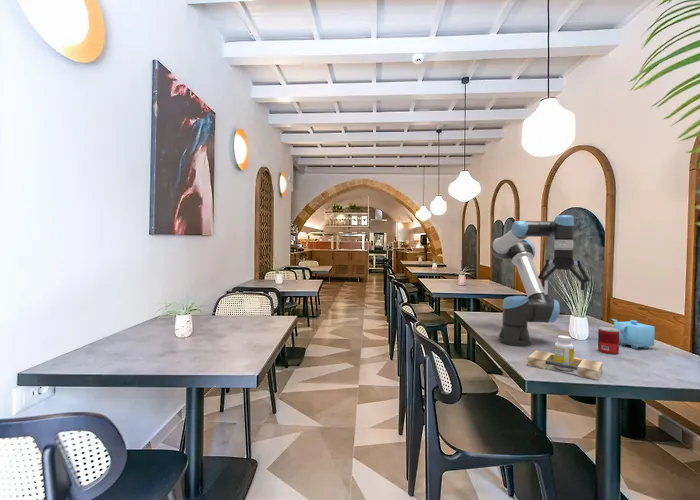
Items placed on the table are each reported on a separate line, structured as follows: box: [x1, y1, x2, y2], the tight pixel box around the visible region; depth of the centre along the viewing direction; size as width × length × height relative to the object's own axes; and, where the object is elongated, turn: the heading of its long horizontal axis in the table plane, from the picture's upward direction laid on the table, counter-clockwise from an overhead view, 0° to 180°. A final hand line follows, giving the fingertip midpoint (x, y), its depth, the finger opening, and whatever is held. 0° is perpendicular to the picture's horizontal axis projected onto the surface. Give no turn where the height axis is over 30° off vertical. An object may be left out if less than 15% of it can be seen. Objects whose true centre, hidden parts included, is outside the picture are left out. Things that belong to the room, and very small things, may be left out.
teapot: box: [611, 318, 656, 350], centre depth 183 cm, size 18×16×13 cm
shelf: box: [527, 349, 603, 381], centre depth 146 cm, size 24×13×4 cm, turn 49°
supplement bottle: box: [554, 335, 575, 372], centre depth 146 cm, size 7×7×13 cm
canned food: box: [597, 326, 620, 355], centre depth 170 cm, size 8×8×11 cm
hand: (562, 295), depth 165 cm, fingers open, 13 cm apart
